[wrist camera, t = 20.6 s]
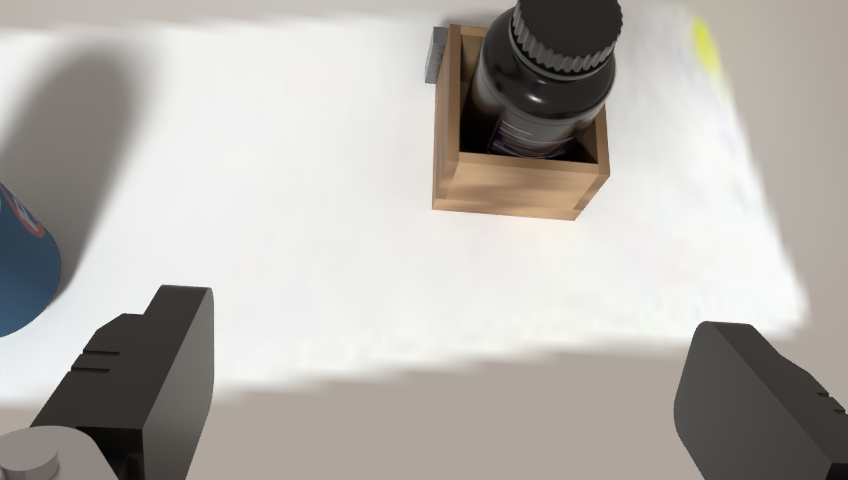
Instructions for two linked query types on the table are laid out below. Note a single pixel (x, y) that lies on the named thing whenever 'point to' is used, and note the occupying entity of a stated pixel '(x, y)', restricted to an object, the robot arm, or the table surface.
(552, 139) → the supplement bottle
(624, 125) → the table surface
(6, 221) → the soda can
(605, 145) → the walnut holder
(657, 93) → the table surface
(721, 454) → the robot arm
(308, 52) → the table surface
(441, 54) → the bar
